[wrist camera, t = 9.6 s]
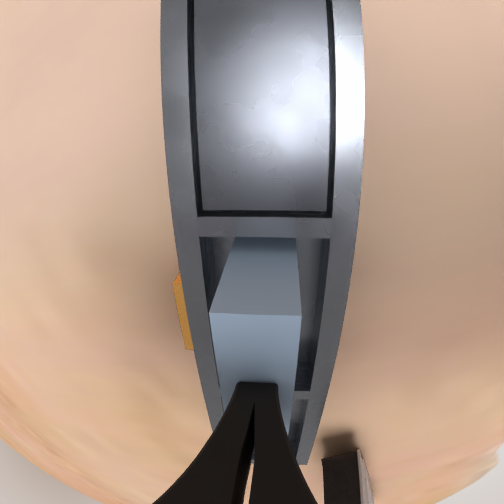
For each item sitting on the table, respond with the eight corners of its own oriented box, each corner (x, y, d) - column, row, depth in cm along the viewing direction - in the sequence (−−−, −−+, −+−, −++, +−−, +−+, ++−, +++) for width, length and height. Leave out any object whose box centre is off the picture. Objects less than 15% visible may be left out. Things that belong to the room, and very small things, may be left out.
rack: (341, -7, 9) (355, -32, 6) (306, 435, 22) (306, 464, 20) (172, 0, 10) (147, -21, 7) (219, 431, 23) (213, 459, 21)
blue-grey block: (295, 232, 14) (301, 315, 8) (288, 347, 17) (287, 437, 11) (237, 231, 14) (209, 312, 9) (243, 345, 17) (227, 434, 12)
